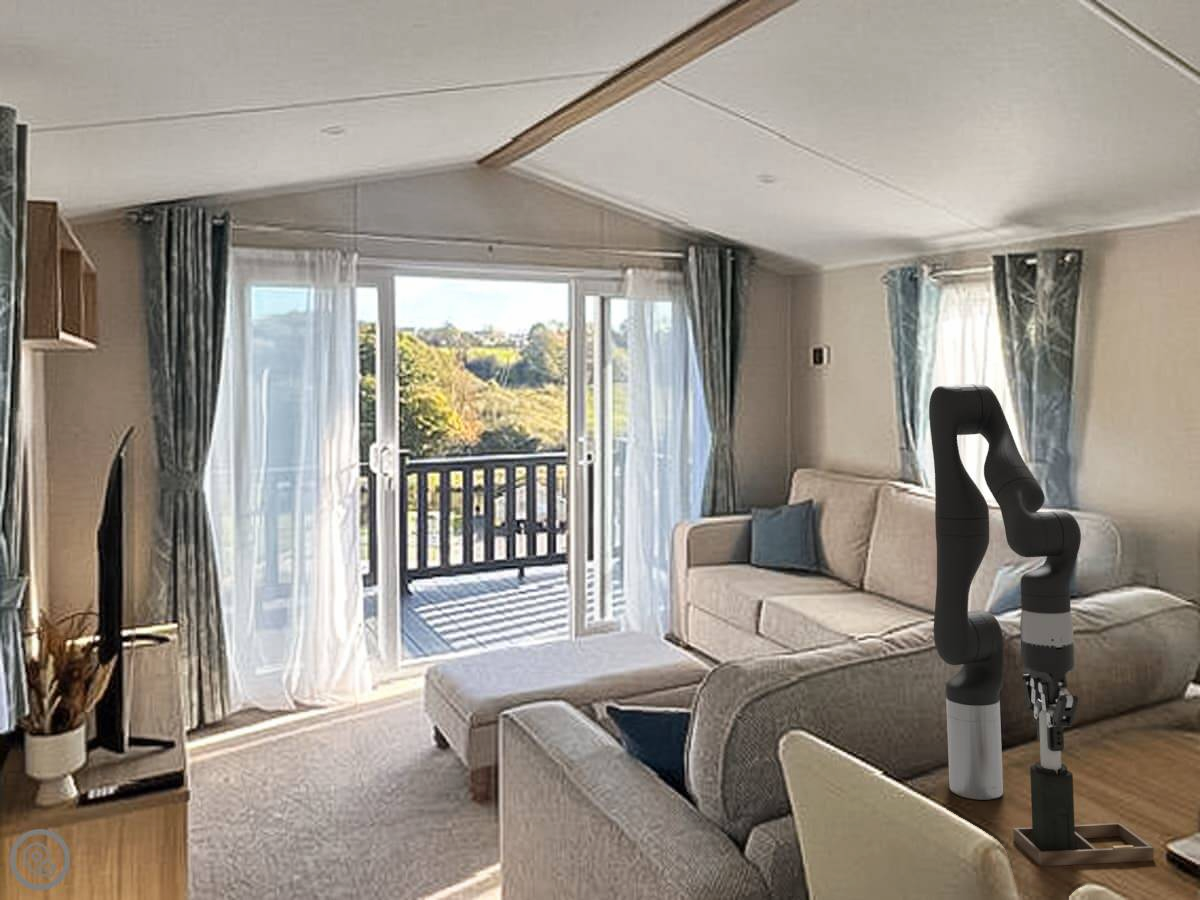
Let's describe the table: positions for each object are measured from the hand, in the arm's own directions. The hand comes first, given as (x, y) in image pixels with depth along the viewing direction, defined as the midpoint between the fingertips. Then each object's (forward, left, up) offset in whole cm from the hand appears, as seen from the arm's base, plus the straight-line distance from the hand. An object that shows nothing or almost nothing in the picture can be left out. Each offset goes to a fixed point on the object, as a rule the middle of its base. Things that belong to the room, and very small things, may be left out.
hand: (1050, 746), depth 145 cm
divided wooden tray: (0, +4, -17) cm, 17 cm away
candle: (0, 0, -17) cm, 17 cm away
